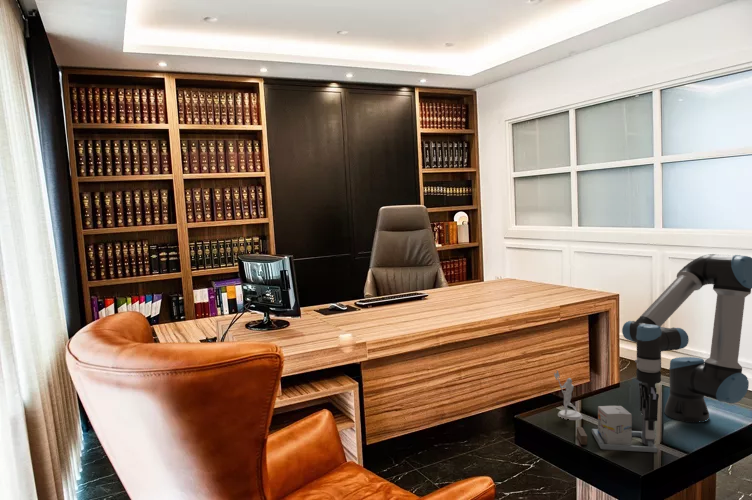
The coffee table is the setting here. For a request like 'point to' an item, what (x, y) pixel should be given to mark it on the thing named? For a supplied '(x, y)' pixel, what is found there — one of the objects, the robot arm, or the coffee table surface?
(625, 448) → the sled
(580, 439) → the lane end block
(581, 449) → the coffee table surface
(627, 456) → the coffee table surface
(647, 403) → the robot arm
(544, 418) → the coffee table surface
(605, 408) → the ink box
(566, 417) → the figurine
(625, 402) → the coffee table surface
